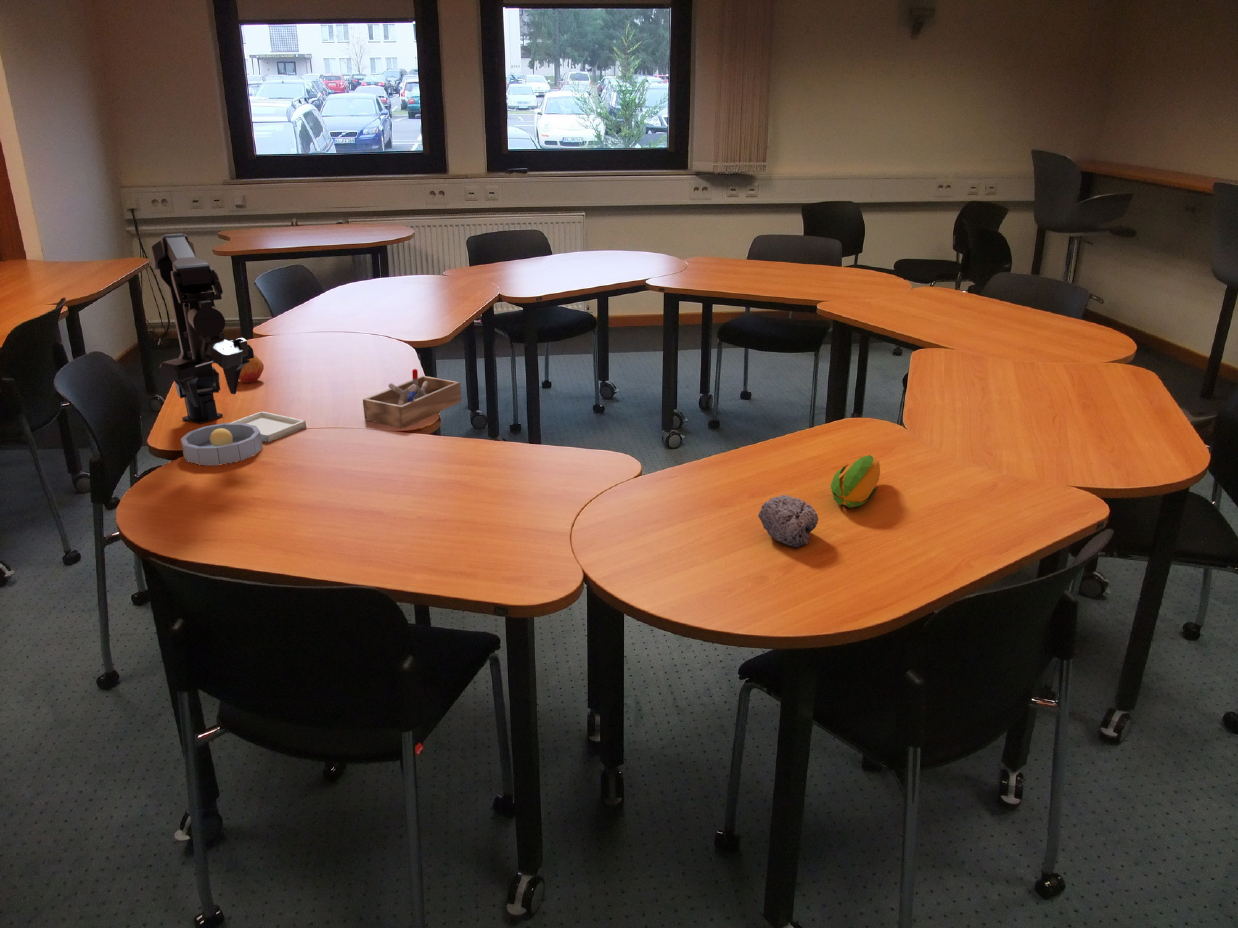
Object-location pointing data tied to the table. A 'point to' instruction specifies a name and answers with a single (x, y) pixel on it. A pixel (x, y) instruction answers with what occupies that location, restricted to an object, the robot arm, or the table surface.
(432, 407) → the wooden box
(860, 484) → the corn
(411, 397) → the molecular model
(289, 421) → the tray
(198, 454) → the bowl
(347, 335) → the table surface
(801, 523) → the pumice stone
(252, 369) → the fruit
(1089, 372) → the table surface
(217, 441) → the ball
